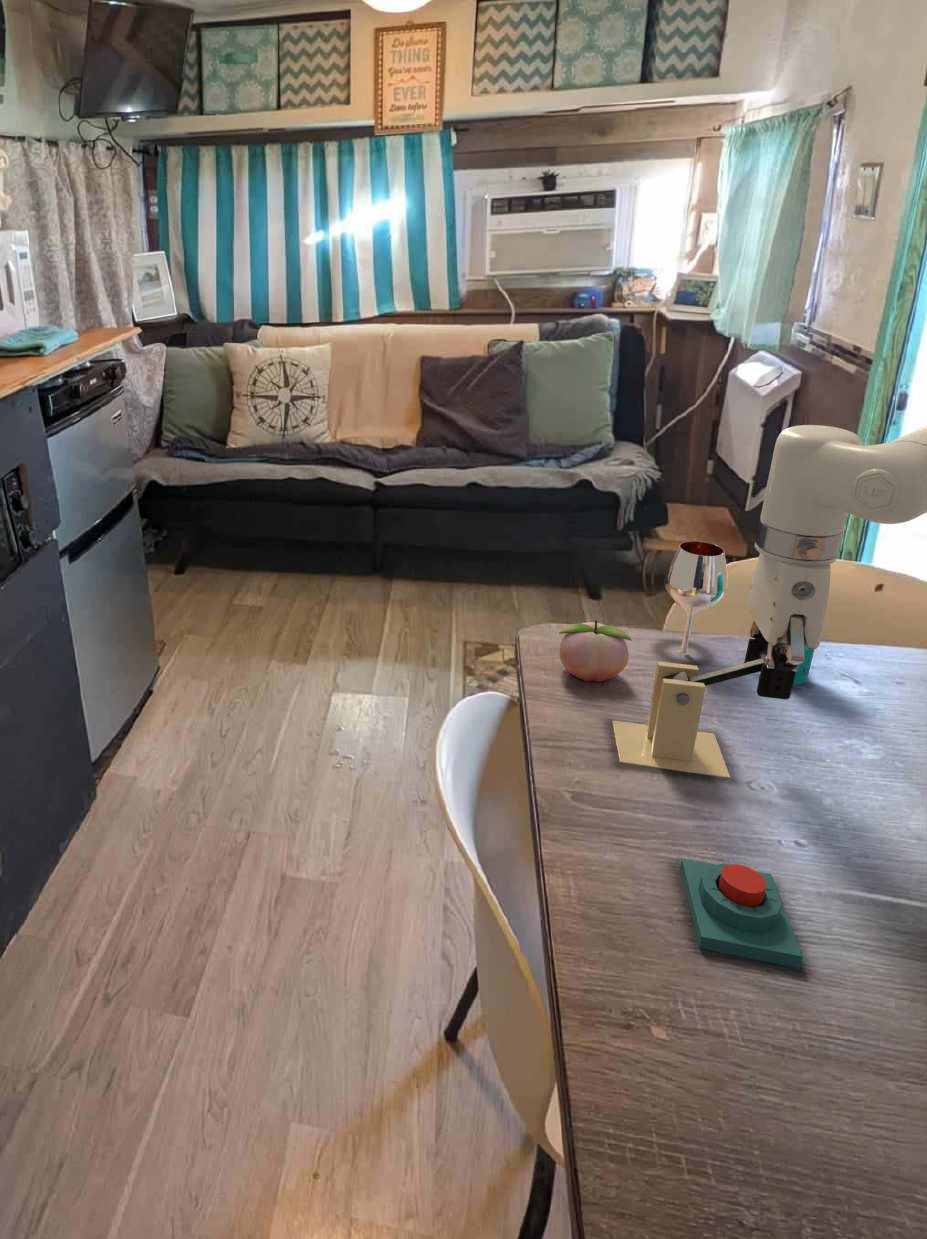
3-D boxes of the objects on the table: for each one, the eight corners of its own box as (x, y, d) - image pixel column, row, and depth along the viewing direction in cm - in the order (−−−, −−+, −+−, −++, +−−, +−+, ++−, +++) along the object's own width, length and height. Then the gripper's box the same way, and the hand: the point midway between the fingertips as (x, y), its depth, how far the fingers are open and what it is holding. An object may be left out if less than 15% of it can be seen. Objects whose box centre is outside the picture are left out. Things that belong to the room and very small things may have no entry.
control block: (767, 890, 81) (774, 859, 80) (797, 974, 72) (806, 941, 71) (678, 874, 84) (684, 844, 82) (697, 954, 75) (704, 921, 73)
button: (757, 882, 78) (760, 867, 77) (767, 911, 75) (771, 896, 74) (715, 874, 79) (718, 860, 78) (723, 902, 76) (726, 888, 75)
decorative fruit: (615, 667, 121) (623, 607, 118) (629, 697, 114) (639, 635, 110) (549, 664, 123) (555, 605, 119) (559, 693, 115) (566, 631, 112)
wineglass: (652, 640, 128) (669, 534, 121) (712, 649, 124) (732, 541, 118) (652, 665, 121) (670, 555, 115) (714, 676, 118) (736, 563, 111)
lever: (774, 658, 96) (767, 641, 95) (787, 680, 91) (779, 663, 91) (667, 687, 101) (659, 671, 101) (673, 709, 97) (666, 692, 96)
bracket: (712, 741, 104) (728, 661, 100) (729, 785, 96) (747, 700, 92) (611, 727, 107) (622, 649, 103) (618, 769, 99) (631, 687, 95)
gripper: (868, 575, 80) (827, 730, 86) (812, 515, 95) (781, 651, 101) (780, 568, 82) (747, 719, 88) (739, 511, 97) (713, 644, 103)
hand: (765, 681), depth 95 cm, fingers closed on lever, 5 cm apart
